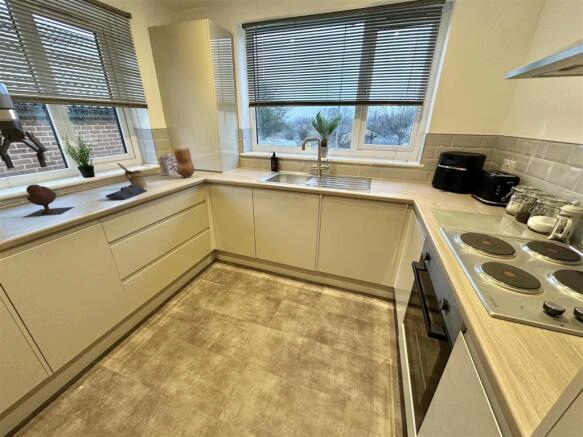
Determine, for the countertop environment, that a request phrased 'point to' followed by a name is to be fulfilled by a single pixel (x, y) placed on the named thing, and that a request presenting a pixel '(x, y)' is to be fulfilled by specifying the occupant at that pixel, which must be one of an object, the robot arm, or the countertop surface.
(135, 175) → the tan handled pot
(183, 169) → the butternut squash
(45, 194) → the ice cream bowl
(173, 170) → the decorative jar
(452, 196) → the countertop surface
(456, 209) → the countertop surface
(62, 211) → the placemat
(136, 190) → the dark slate chunk
